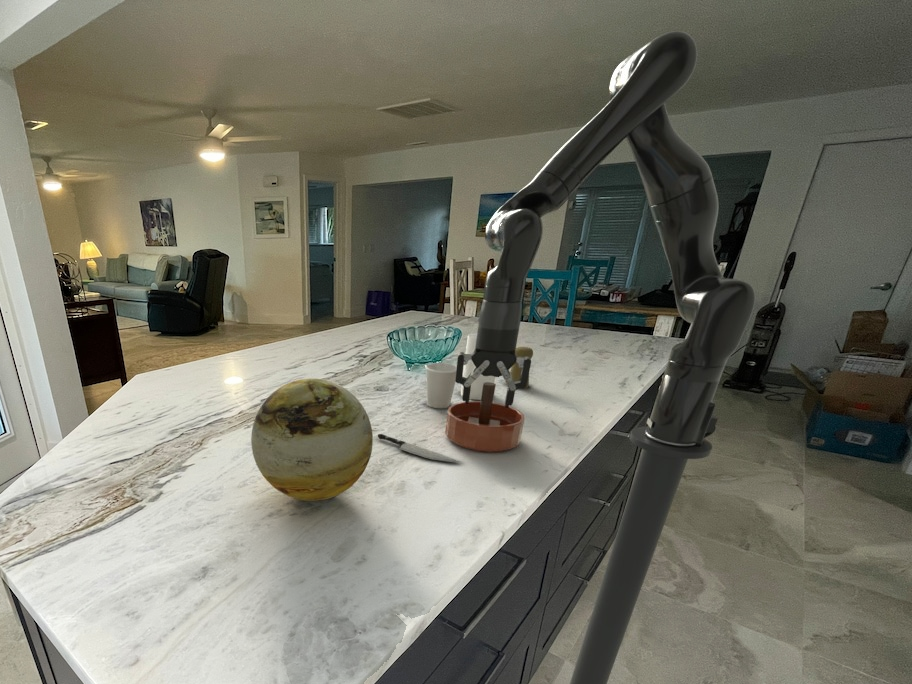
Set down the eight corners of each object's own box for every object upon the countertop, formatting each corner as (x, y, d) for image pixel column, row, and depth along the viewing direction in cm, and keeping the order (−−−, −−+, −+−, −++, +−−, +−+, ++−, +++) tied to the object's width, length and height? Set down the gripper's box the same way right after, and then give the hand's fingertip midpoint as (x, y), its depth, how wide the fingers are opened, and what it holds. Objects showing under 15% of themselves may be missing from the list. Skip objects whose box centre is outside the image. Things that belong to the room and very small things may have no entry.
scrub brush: (498, 434, 101) (506, 382, 96) (496, 442, 97) (505, 388, 92) (467, 430, 103) (474, 379, 98) (464, 437, 100) (472, 385, 95)
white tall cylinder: (473, 388, 133) (481, 331, 126) (498, 396, 127) (508, 336, 120) (454, 394, 129) (461, 335, 122) (478, 401, 123) (487, 340, 116)
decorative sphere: (271, 463, 91) (265, 363, 83) (373, 470, 88) (378, 366, 80) (240, 519, 74) (229, 398, 65) (366, 530, 70) (371, 404, 62)
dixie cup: (432, 411, 116) (436, 372, 112) (415, 401, 124) (419, 364, 119) (461, 407, 119) (466, 369, 114) (443, 398, 126) (447, 361, 122)
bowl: (517, 430, 105) (522, 405, 102) (521, 458, 92) (526, 430, 89) (447, 422, 110) (450, 398, 107) (441, 448, 97) (444, 421, 94)
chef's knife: (452, 468, 88) (460, 462, 90) (453, 463, 88) (460, 457, 90) (370, 441, 100) (378, 436, 102) (370, 436, 100) (379, 431, 102)
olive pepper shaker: (522, 389, 132) (529, 350, 127) (502, 385, 136) (508, 347, 131) (532, 385, 135) (539, 347, 131) (512, 381, 139) (518, 344, 135)
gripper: (459, 326, 89) (449, 407, 96) (540, 329, 85) (524, 414, 92) (461, 319, 96) (452, 396, 103) (537, 322, 91) (522, 402, 98)
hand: (486, 404), depth 97 cm, fingers open, 7 cm apart
